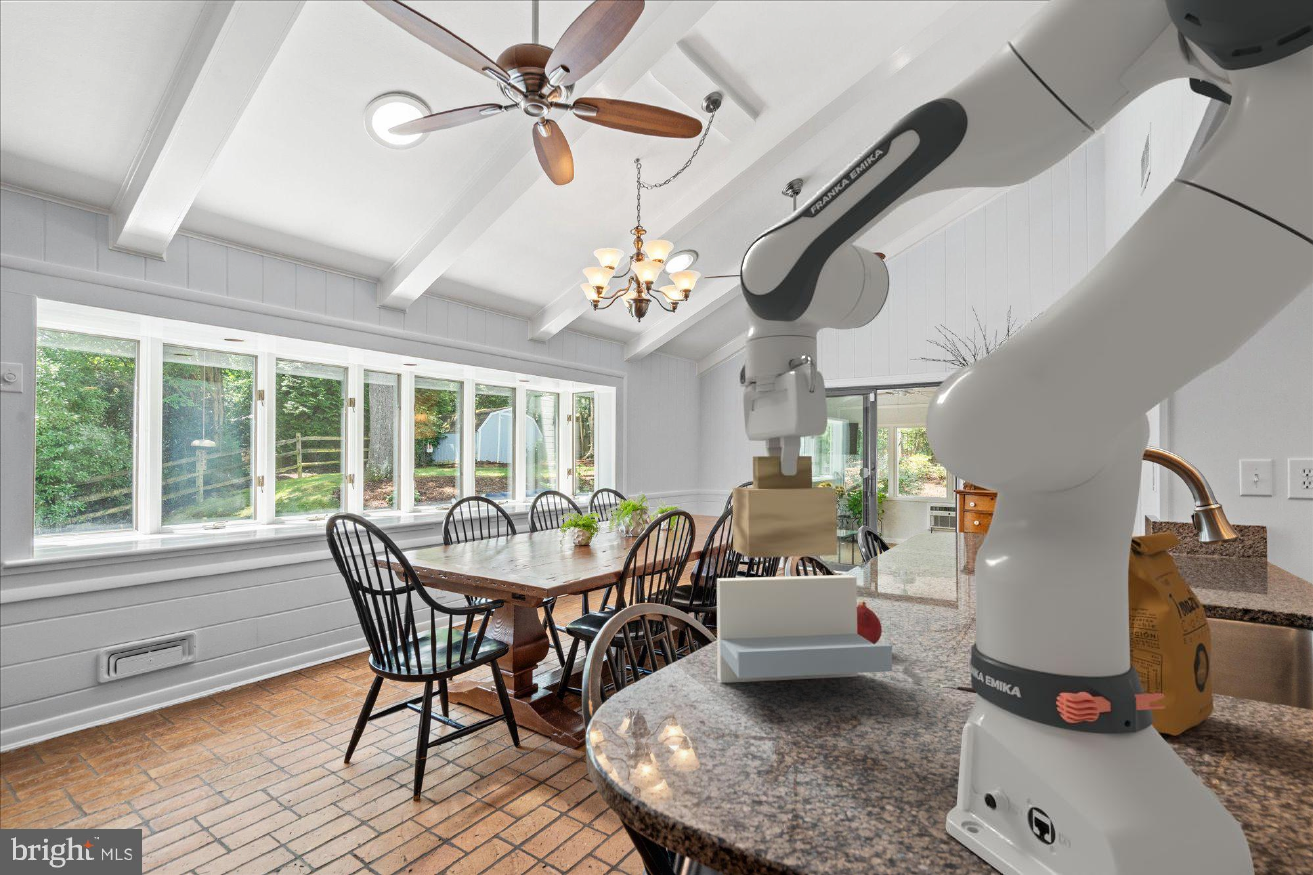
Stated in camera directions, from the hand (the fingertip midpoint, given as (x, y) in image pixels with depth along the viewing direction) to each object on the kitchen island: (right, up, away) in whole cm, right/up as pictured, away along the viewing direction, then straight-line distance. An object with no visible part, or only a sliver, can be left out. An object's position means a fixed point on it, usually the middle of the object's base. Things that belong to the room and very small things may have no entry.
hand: (782, 475), depth 78 cm
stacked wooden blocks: (0, -10, 0) cm, 10 cm away
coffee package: (+43, -29, -5) cm, 52 cm away
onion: (+17, -30, +22) cm, 41 cm away
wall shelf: (+3, -29, +5) cm, 30 cm away
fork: (+26, -30, +5) cm, 40 cm away
